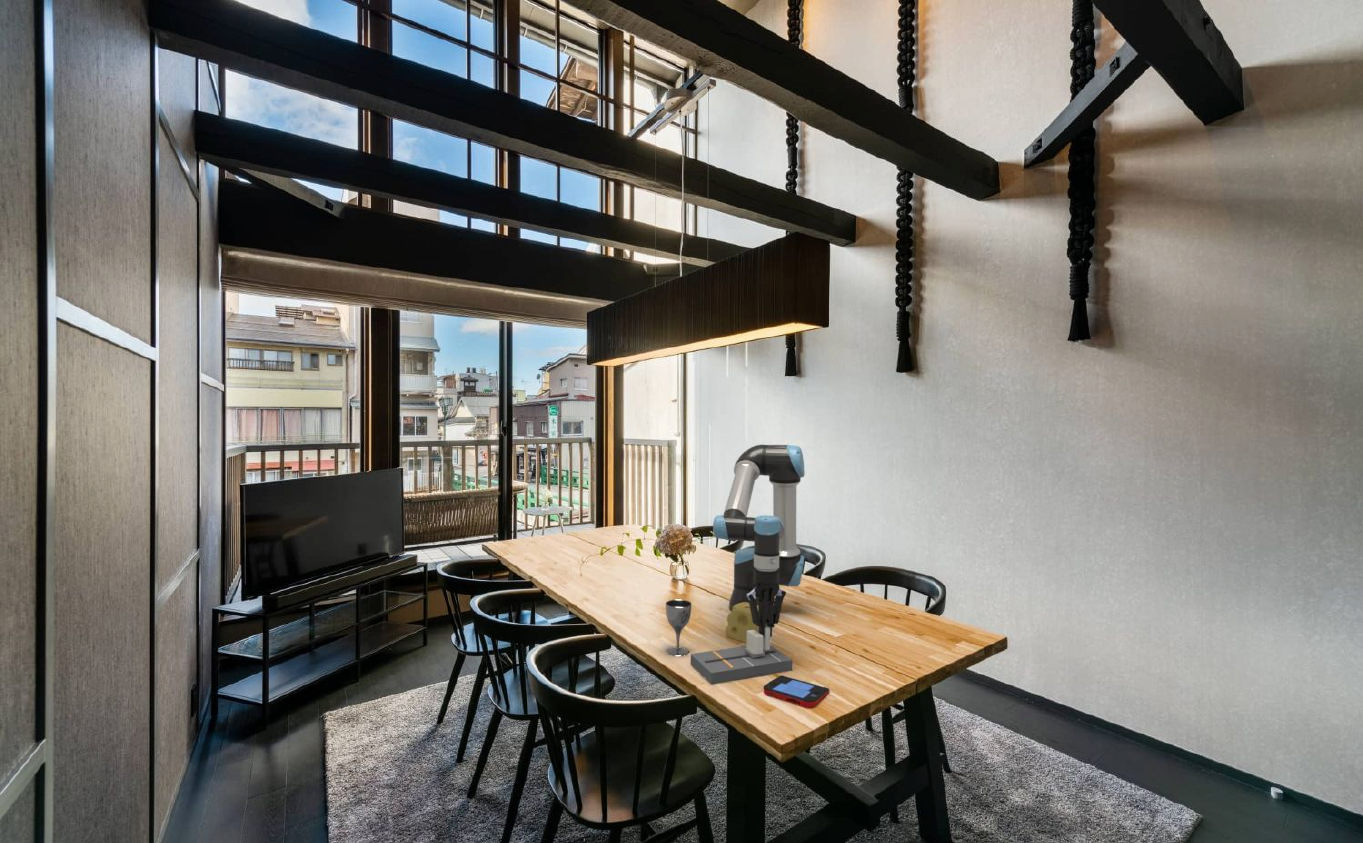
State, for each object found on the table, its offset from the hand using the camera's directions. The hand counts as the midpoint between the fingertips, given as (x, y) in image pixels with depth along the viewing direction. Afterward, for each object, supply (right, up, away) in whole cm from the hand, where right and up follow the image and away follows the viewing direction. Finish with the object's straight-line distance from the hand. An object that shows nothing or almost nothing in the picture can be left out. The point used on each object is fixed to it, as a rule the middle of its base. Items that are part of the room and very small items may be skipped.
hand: (765, 648), depth 166 cm
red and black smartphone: (+5, -5, -18) cm, 20 cm away
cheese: (-3, -5, +22) cm, 22 cm away
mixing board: (-7, -4, -3) cm, 9 cm away
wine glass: (-26, -4, +8) cm, 27 cm away
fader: (-3, -1, -1) cm, 4 cm away
